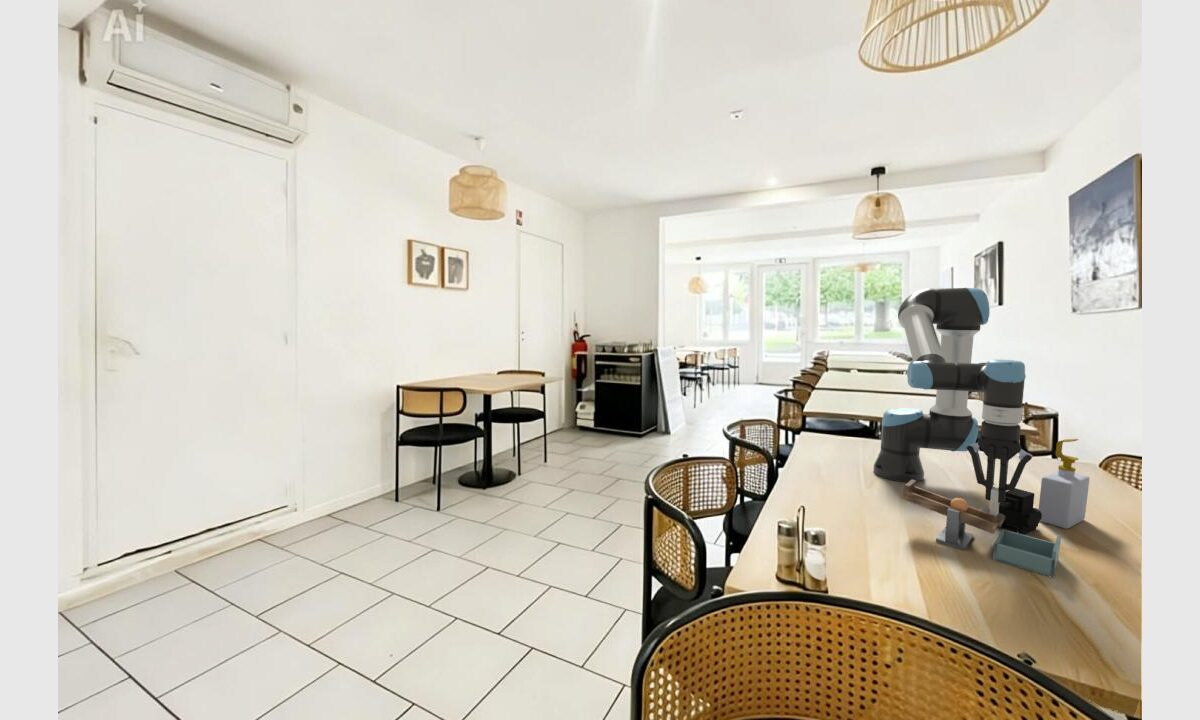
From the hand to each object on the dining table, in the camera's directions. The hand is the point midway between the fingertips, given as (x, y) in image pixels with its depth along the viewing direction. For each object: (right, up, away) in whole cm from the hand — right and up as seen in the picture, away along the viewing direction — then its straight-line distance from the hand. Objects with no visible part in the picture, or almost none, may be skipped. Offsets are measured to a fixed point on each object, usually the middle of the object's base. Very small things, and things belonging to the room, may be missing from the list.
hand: (993, 513), depth 124 cm
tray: (+1, -8, -8) cm, 12 cm away
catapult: (-8, 0, +4) cm, 9 cm away
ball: (-9, +2, 0) cm, 9 cm away
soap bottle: (+28, -6, +12) cm, 31 cm away
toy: (+10, -7, +7) cm, 14 cm away
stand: (-9, -7, +2) cm, 11 cm away
